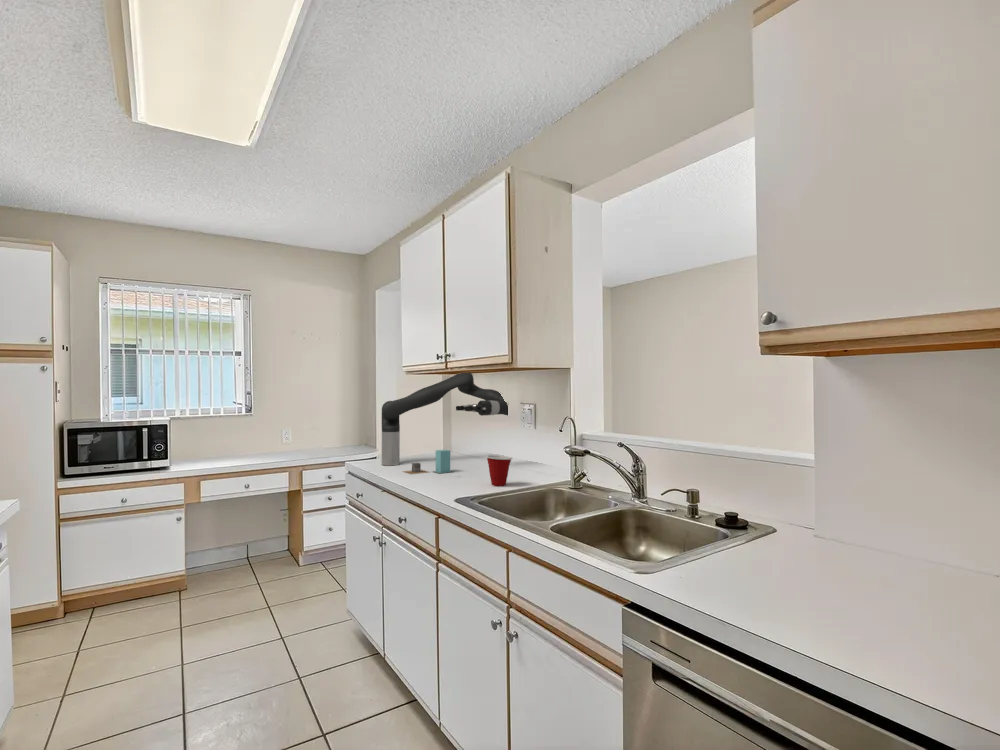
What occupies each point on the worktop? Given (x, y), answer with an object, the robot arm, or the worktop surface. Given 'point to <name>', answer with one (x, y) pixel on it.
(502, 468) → the plastic cup
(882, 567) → the worktop surface
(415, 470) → the walnut base
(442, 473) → the coaster mat
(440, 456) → the teal block
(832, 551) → the worktop surface
